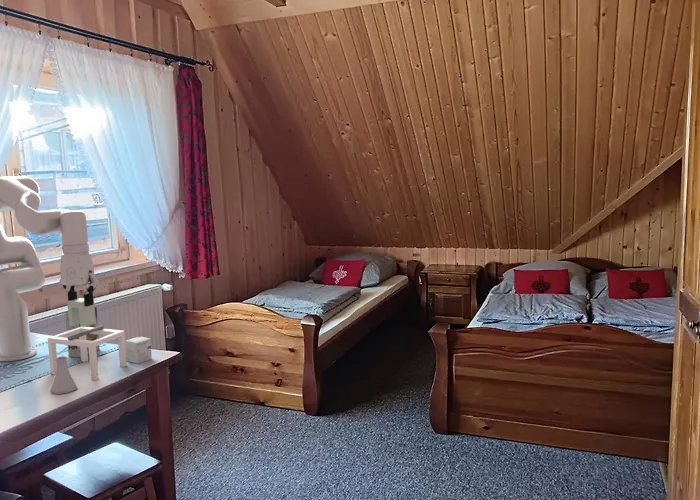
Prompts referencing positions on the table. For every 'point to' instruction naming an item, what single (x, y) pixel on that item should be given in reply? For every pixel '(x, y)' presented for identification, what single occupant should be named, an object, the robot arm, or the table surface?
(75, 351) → the coffee box
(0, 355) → the robot arm
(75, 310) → the slotted cream block
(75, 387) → the flask
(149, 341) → the skincare box
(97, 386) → the table surface
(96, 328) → the white square frame
